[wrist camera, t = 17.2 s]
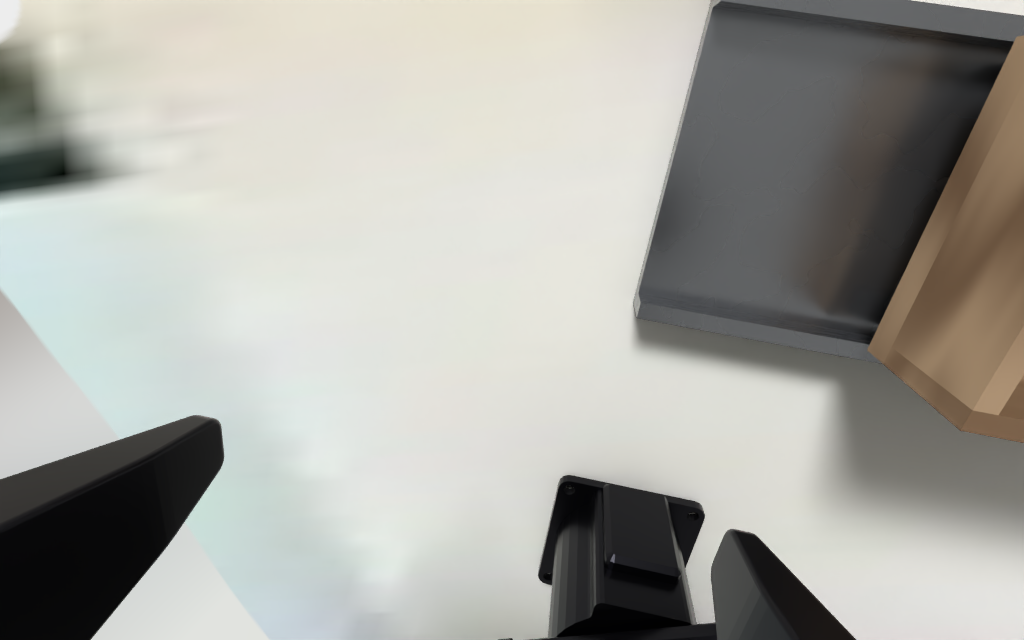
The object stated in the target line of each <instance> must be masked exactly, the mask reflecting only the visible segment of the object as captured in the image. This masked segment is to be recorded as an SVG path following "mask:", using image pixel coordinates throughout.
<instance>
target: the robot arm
mask: <svg viewBox="0 0 1024 640" xmlns="http://www.w3.org/2000/svg"><path fill="white" fill-rule="evenodd" d="M223 461H224V448H223V439H222V429H221V424H220V422H219V421H218V420H216V419H214V418H210V417H205V416H200V415H193V416H190V417H187V418H184V419H181V420H178V421H175V422H172V423H169V424H166V425H163V426H160V427H157V428H154V429H151V430H148V431H145V432H142V433H139V434H136V435H133V436H130V437H127V438H124V439H121V440H118V441H115V442H112V443H109V444H106V445H103V446H100V447H97V448H94V449H91V450H87V451H85V452H82V453H79V454H76V455H72V456H69V457H66V458H64V459H60V460H58V461H55V462H52V463H49V464H45V465H42V466H39V467H37V468H33V469H31V470H28V471H24V472H22V473H19V474H15V475H12V476H10V477H7V478H3V479H0V640H91V639H92V637H93V636H94V635H95V634H96V633H97V631H98V630H99V629H100V628H101V627H102V625H103V624H104V623H105V622H106V620H107V619H108V618H109V617H110V616H111V614H112V613H113V612H114V611H115V610H116V608H117V607H118V606H119V605H120V603H121V602H122V601H123V600H124V599H125V597H126V596H127V595H128V594H129V593H130V591H131V590H132V588H134V587H135V585H136V584H137V583H138V582H139V580H140V579H141V578H142V577H143V576H144V574H145V573H146V572H147V571H148V570H149V568H150V567H151V566H152V565H153V563H154V562H155V561H156V560H157V558H158V557H159V556H160V555H161V554H162V552H163V551H164V550H165V548H166V547H167V546H168V545H169V543H170V542H171V540H172V539H173V538H174V536H175V535H176V534H177V532H178V531H179V529H180V528H181V526H182V525H183V523H184V522H185V520H186V519H187V518H188V516H189V515H190V513H191V512H192V510H193V509H194V507H195V506H196V504H197V503H198V501H199V500H200V498H201V497H202V495H203V494H204V493H205V491H206V490H207V488H208V487H209V485H210V484H211V482H212V481H213V479H214V478H215V476H216V475H217V473H218V472H219V470H220V469H221V466H222V464H223ZM566 486H572V487H574V488H572V489H569V488H566ZM690 512H696V513H695V514H688V513H690ZM704 518H705V514H704V511H703V508H702V505H700V504H699V503H698V502H695V501H691V500H686V499H681V498H676V497H672V496H667V495H662V494H657V493H653V492H648V491H643V490H638V489H634V488H629V487H624V486H619V485H615V484H610V483H605V482H600V481H596V480H591V479H586V478H581V477H577V476H572V475H567V476H563V477H562V478H561V479H560V481H559V483H558V488H557V492H556V496H555V501H554V505H553V510H552V514H551V518H550V523H549V527H548V531H547V536H546V540H545V544H544V549H543V553H542V557H541V562H540V566H539V573H538V577H539V579H540V580H541V581H542V582H543V583H546V584H549V585H552V592H551V605H550V618H549V631H548V638H540V639H529V640H856V639H855V638H854V637H853V636H852V635H851V634H850V633H849V632H848V631H847V630H846V628H845V627H844V626H843V625H842V624H841V623H840V622H839V621H838V620H837V619H836V618H835V617H834V616H833V615H832V614H831V613H830V612H829V611H828V610H827V609H826V608H825V607H824V605H823V604H822V603H821V602H820V601H819V600H818V599H817V598H816V597H815V596H814V595H813V594H812V593H811V592H810V591H809V590H808V589H807V588H806V587H805V586H804V585H803V584H802V583H801V581H800V580H799V579H798V578H797V577H796V576H795V575H794V574H793V573H792V572H791V571H790V570H789V569H788V568H787V567H786V566H785V565H784V564H783V563H782V562H781V561H780V560H779V558H778V557H777V556H776V555H775V554H774V553H773V552H772V551H771V550H770V549H769V548H768V547H767V546H766V545H765V544H764V543H763V542H762V541H761V540H760V539H759V538H758V537H757V536H756V535H755V534H753V533H750V532H745V531H740V530H736V529H730V530H728V531H727V532H726V533H725V535H724V537H723V539H722V542H721V544H720V547H719V549H718V551H717V554H716V556H715V559H714V561H713V564H712V568H711V582H712V592H713V602H714V612H715V621H716V623H706V624H697V623H696V618H695V613H694V609H693V604H692V599H691V594H690V590H689V585H688V580H687V575H686V571H685V567H686V565H687V562H688V560H689V557H690V554H691V552H692V549H693V547H694V544H695V542H696V539H697V537H698V534H699V531H700V529H701V526H702V524H703V521H704ZM548 573H550V574H548ZM498 640H513V639H512V638H509V639H498Z"/></svg>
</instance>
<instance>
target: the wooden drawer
mask: <svg viewBox="0 0 1024 640" xmlns="http://www.w3.org/2000/svg"><path fill="white" fill-rule="evenodd" d="M867 351H869V352H870V353H871V354H872V355H873V356H874V357H876V358H877V359H878V360H879V361H880V362H881V363H883V364H884V365H885V366H886V367H887V368H888V369H889V370H891V371H892V372H893V373H894V374H895V375H896V376H898V377H899V378H900V379H901V380H902V381H903V382H905V383H906V384H907V385H908V386H909V387H910V388H912V389H913V390H914V391H915V392H916V393H917V394H918V395H920V396H921V397H922V398H923V399H924V400H925V401H927V402H928V403H929V404H930V405H931V406H932V407H934V408H935V409H936V410H937V411H938V412H939V413H941V414H942V415H943V416H944V417H945V418H946V419H947V420H949V421H950V422H951V423H952V424H953V425H954V426H956V427H957V428H958V429H959V430H960V431H965V432H970V433H976V434H981V435H986V436H991V437H996V438H1001V439H1007V440H1012V441H1017V442H1022V443H1024V35H1023V36H1017V37H1016V39H1015V41H1014V43H1013V46H1012V48H1011V50H1010V52H1009V54H1008V56H1007V58H1006V60H1005V62H1004V64H1003V66H1002V69H1001V71H1000V73H999V75H998V77H997V79H996V81H995V83H994V85H993V87H992V89H991V92H990V94H989V96H988V98H987V100H986V102H985V104H984V106H983V108H982V110H981V113H980V115H979V117H978V119H977V121H976V123H975V125H974V127H973V129H972V131H971V133H970V136H969V138H968V140H967V142H966V144H965V146H964V148H963V150H962V152H961V154H960V157H959V159H958V161H957V163H956V165H955V167H954V169H953V171H952V173H951V175H950V177H949V180H948V182H947V184H946V186H945V188H944V190H943V192H942V194H941V196H940V198H939V201H938V203H937V205H936V207H935V209H934V211H933V213H932V215H931V217H930V219H929V221H928V224H927V226H926V228H925V230H924V232H923V234H922V236H921V238H920V240H919V242H918V245H917V247H916V249H915V251H914V253H913V255H912V257H911V259H910V261H909V263H908V265H907V268H906V270H905V272H904V274H903V276H902V278H901V280H900V282H899V284H898V286H897V288H896V291H895V293H894V295H893V297H892V299H891V301H890V303H889V305H888V307H887V309H886V312H885V314H884V316H883V318H882V320H881V322H880V324H879V326H878V328H877V330H876V332H875V335H874V337H873V339H872V341H871V343H870V345H869V347H868V349H867Z"/></svg>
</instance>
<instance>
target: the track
mask: <svg viewBox="0 0 1024 640" xmlns="http://www.w3.org/2000/svg"><path fill="white" fill-rule="evenodd" d="M1023 35H1024V16H1022V15H1014V14H1007V13H1000V12H992V11H985V10H977V9H970V8H963V7H955V6H948V5H940V4H933V3H926V2H918V1H911V0H711V3H710V7H709V11H708V15H707V18H706V22H705V26H704V30H703V34H702V38H701V42H700V46H699V49H698V53H697V57H696V61H695V65H694V69H693V73H692V76H691V80H690V84H689V88H688V92H687V96H686V100H685V104H684V107H683V111H682V115H681V119H680V123H679V127H678V131H677V135H676V138H675V142H674V146H673V150H672V154H671V158H670V162H669V166H668V169H667V173H666V177H665V181H664V185H663V189H662V193H661V196H660V200H659V204H658V208H657V212H656V216H655V220H654V224H653V227H652V231H651V235H650V239H649V243H648V247H647V251H646V255H645V258H644V262H643V266H642V270H641V274H640V278H639V282H638V286H637V289H636V293H635V297H634V301H633V304H634V309H635V313H636V317H637V318H639V319H644V320H650V321H655V322H660V323H666V324H671V325H677V326H682V327H687V328H693V329H698V330H703V331H709V332H714V333H720V334H725V335H730V336H736V337H741V338H746V339H752V340H757V341H763V342H768V343H773V344H779V345H784V346H789V347H795V348H800V349H806V350H811V351H816V352H822V353H827V354H832V355H838V356H843V357H849V358H854V359H859V360H865V361H870V362H875V363H881V362H880V361H879V360H878V359H877V358H876V357H874V356H873V355H872V354H871V353H870V352H869V351H867V349H868V347H869V345H870V343H871V341H872V339H873V337H874V335H875V332H876V330H877V328H878V326H879V324H880V322H881V320H882V318H883V316H884V314H885V312H886V309H887V307H888V305H889V303H890V301H891V299H892V297H893V295H894V293H895V291H896V288H897V286H898V284H899V282H900V280H901V278H902V276H903V274H904V272H905V270H906V268H907V265H908V263H909V261H910V259H911V257H912V255H913V253H914V251H915V249H916V247H917V245H918V242H919V240H920V238H921V236H922V234H923V232H924V230H925V228H926V226H927V224H928V221H929V219H930V217H931V215H932V213H933V211H934V209H935V207H936V205H937V203H938V201H939V198H940V196H941V194H942V192H943V190H944V188H945V186H946V184H947V182H948V180H949V177H950V175H951V173H952V171H953V169H954V167H955V165H956V163H957V161H958V159H959V157H960V154H961V152H962V150H963V148H964V146H965V144H966V142H967V140H968V138H969V136H970V133H971V131H972V129H973V127H974V125H975V123H976V121H977V119H978V117H979V115H980V113H981V110H982V108H983V106H984V104H985V102H986V100H987V98H988V96H989V94H990V92H991V89H992V87H993V85H994V83H995V81H996V79H997V77H998V75H999V73H1000V71H1001V69H1002V66H1003V64H1004V62H1005V60H1006V58H1007V56H1008V54H1009V52H1010V50H1011V48H1012V46H1013V43H1014V41H1015V39H1016V37H1017V36H1023ZM881 364H883V363H881Z"/></svg>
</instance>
